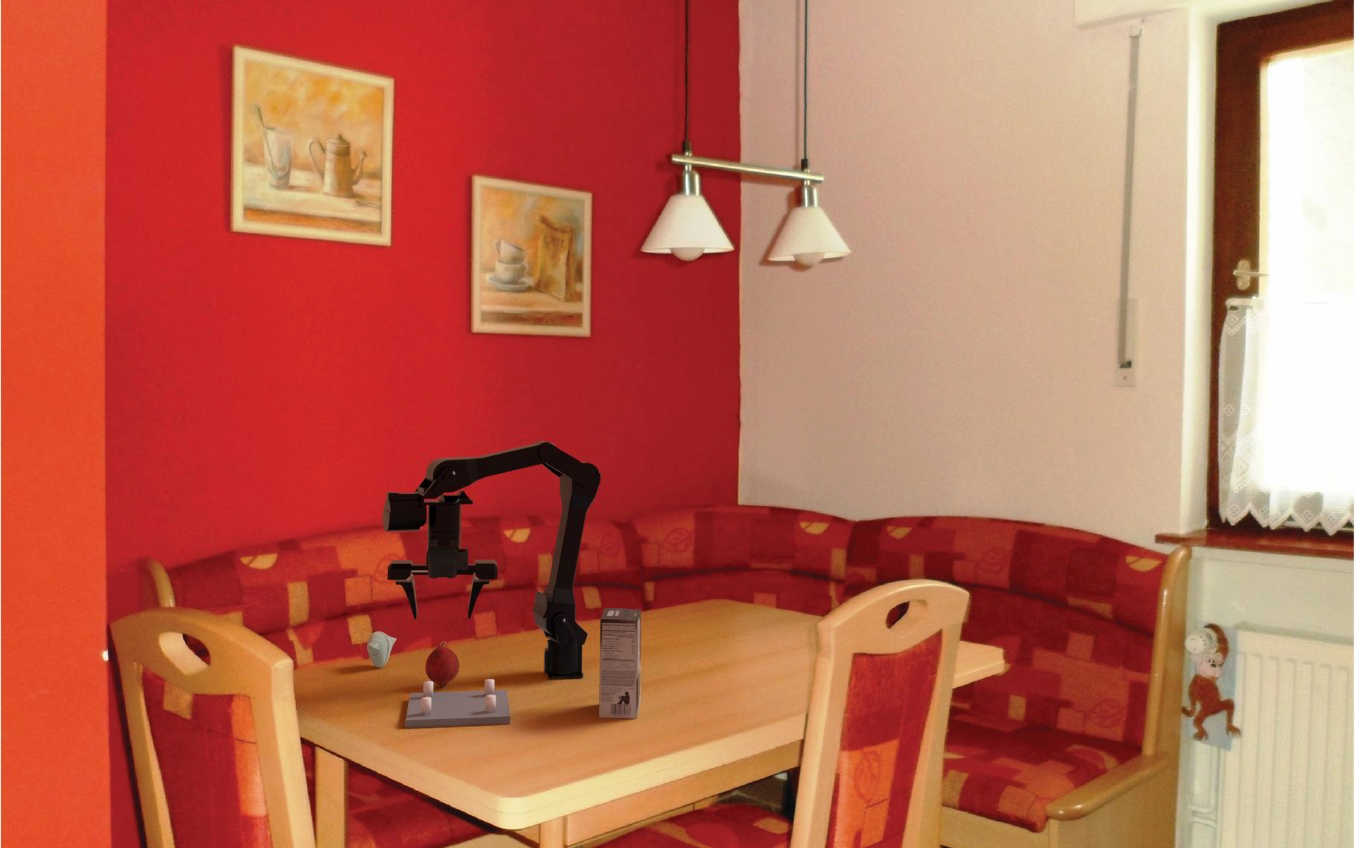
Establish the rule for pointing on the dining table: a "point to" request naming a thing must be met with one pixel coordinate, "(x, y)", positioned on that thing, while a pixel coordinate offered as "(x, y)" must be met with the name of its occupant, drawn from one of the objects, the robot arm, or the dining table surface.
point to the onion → (442, 665)
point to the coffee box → (620, 663)
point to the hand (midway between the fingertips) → (442, 618)
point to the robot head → (379, 648)
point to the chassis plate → (457, 707)
